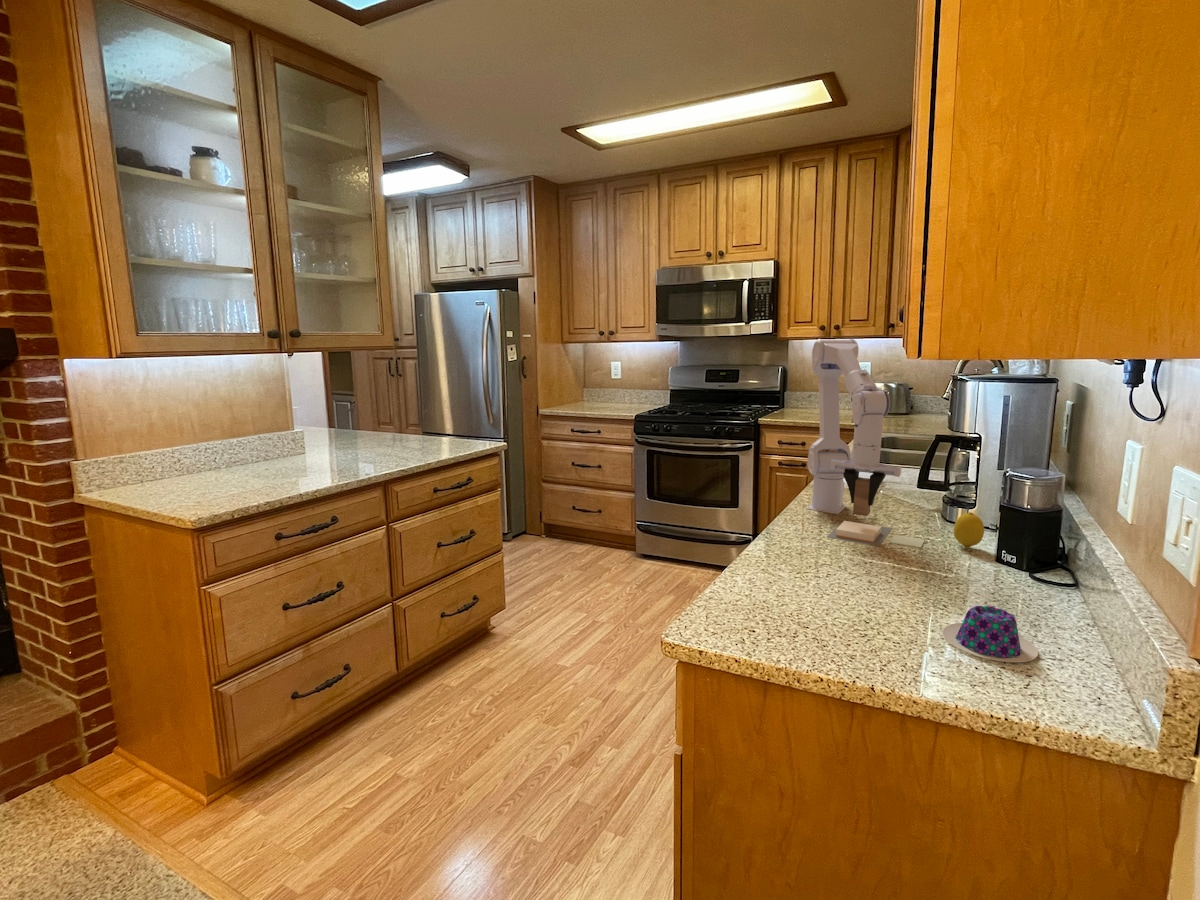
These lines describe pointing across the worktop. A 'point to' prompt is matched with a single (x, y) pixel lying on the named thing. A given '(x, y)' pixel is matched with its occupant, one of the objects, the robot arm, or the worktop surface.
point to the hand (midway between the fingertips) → (862, 503)
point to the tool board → (907, 541)
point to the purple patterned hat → (990, 635)
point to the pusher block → (861, 496)
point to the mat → (877, 542)
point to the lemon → (968, 530)
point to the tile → (858, 531)
